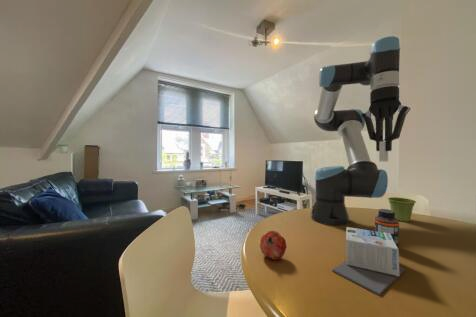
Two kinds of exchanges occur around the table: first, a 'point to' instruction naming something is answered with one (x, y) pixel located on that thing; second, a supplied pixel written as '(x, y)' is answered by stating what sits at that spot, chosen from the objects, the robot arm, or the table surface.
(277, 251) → the red round fruit
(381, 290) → the mat
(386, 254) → the light bulb box
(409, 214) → the plant pot
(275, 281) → the table surface
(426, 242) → the table surface
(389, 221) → the supplement bottle
